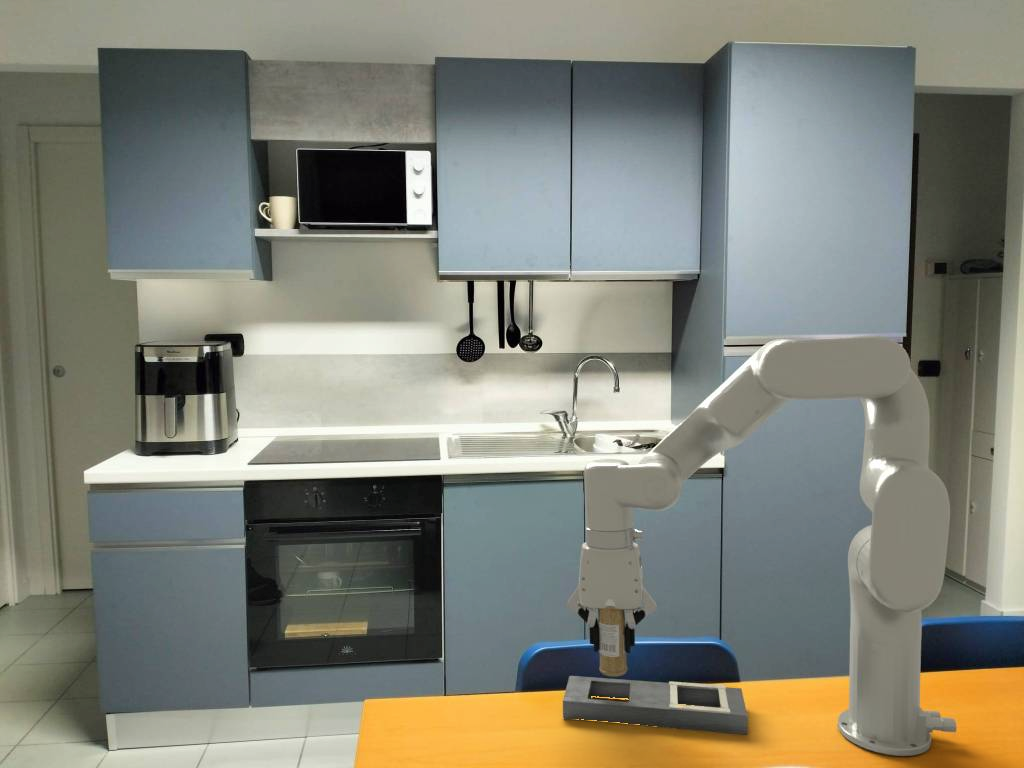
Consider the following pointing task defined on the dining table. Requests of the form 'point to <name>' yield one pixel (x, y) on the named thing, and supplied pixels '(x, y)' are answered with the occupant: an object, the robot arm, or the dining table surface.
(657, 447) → the robot arm
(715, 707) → the rail
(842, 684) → the dining table surface
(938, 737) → the dining table surface
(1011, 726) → the dining table surface
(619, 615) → the sprinkles bottle
